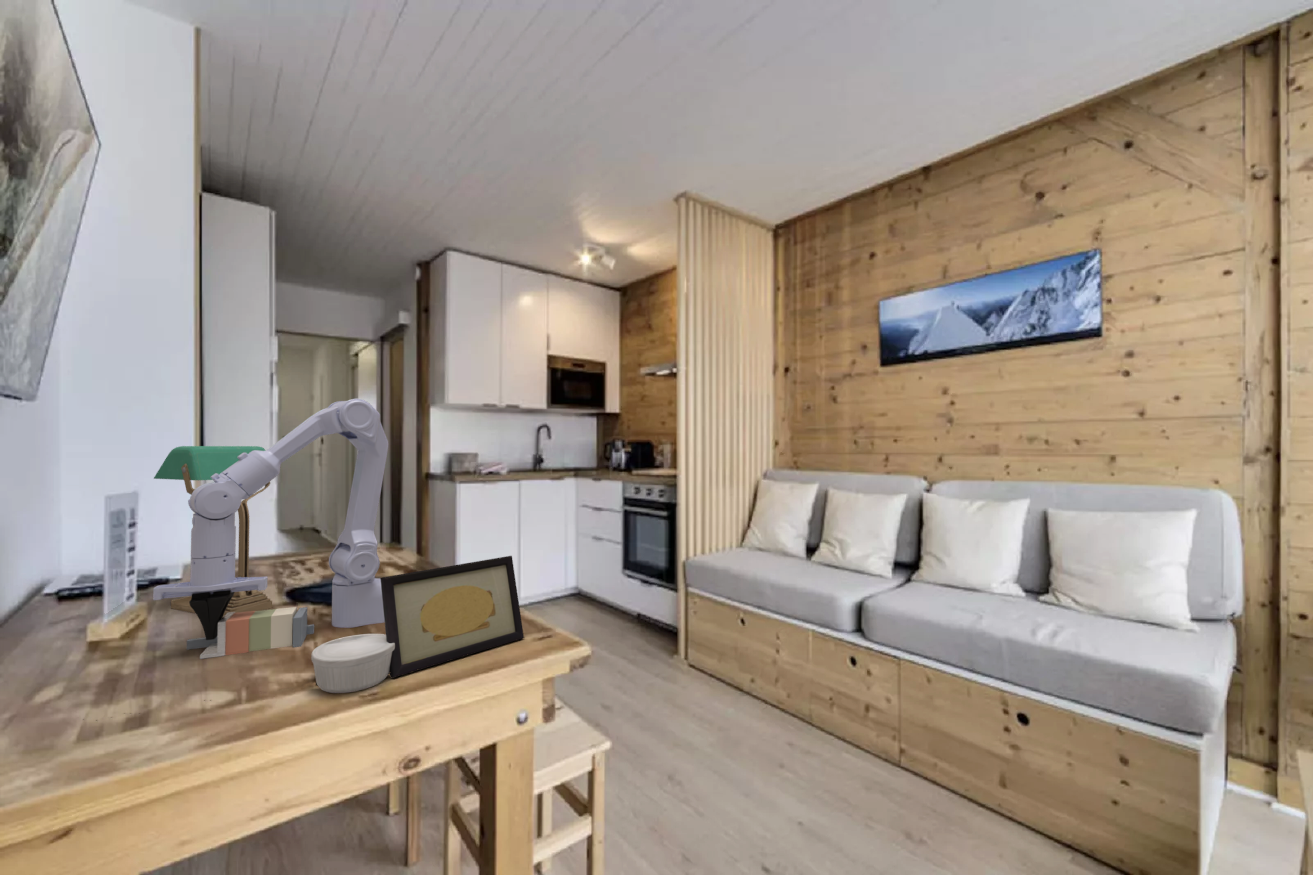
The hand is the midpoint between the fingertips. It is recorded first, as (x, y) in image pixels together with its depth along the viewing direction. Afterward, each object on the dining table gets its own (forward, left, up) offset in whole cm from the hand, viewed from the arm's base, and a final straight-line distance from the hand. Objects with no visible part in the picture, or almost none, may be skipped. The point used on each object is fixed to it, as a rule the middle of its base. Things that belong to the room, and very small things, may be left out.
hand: (211, 637), depth 88 cm
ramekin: (-22, +19, -4) cm, 29 cm away
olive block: (-7, 0, -2) cm, 7 cm away
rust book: (-4, 0, -2) cm, 5 cm away
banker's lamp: (+7, -34, -4) cm, 35 cm away
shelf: (-5, 0, -3) cm, 6 cm away
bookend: (-1, 0, -2) cm, 2 cm away
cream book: (-10, 0, -2) cm, 10 cm away
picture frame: (-36, +13, -4) cm, 39 cm away
